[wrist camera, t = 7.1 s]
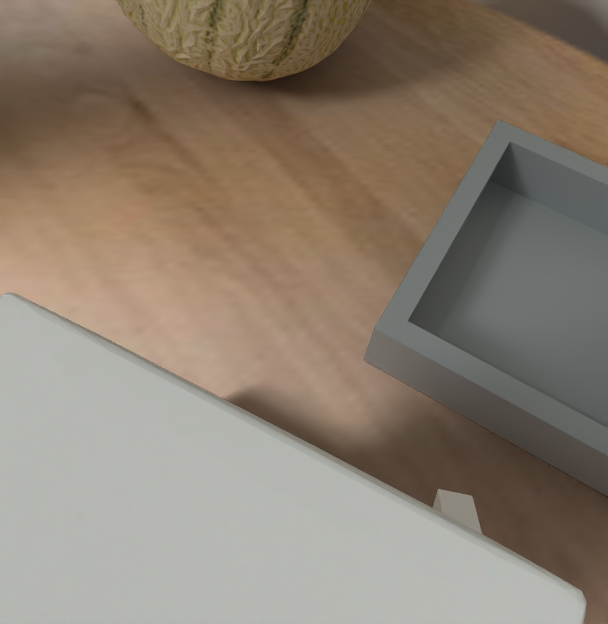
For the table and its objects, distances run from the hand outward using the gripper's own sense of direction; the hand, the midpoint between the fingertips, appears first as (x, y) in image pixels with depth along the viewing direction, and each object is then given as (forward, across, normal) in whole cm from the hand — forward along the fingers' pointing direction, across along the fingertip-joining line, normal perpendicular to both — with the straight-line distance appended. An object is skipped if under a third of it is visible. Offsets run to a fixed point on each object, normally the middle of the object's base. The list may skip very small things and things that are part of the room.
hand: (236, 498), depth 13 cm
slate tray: (+16, +12, +1) cm, 20 cm away
